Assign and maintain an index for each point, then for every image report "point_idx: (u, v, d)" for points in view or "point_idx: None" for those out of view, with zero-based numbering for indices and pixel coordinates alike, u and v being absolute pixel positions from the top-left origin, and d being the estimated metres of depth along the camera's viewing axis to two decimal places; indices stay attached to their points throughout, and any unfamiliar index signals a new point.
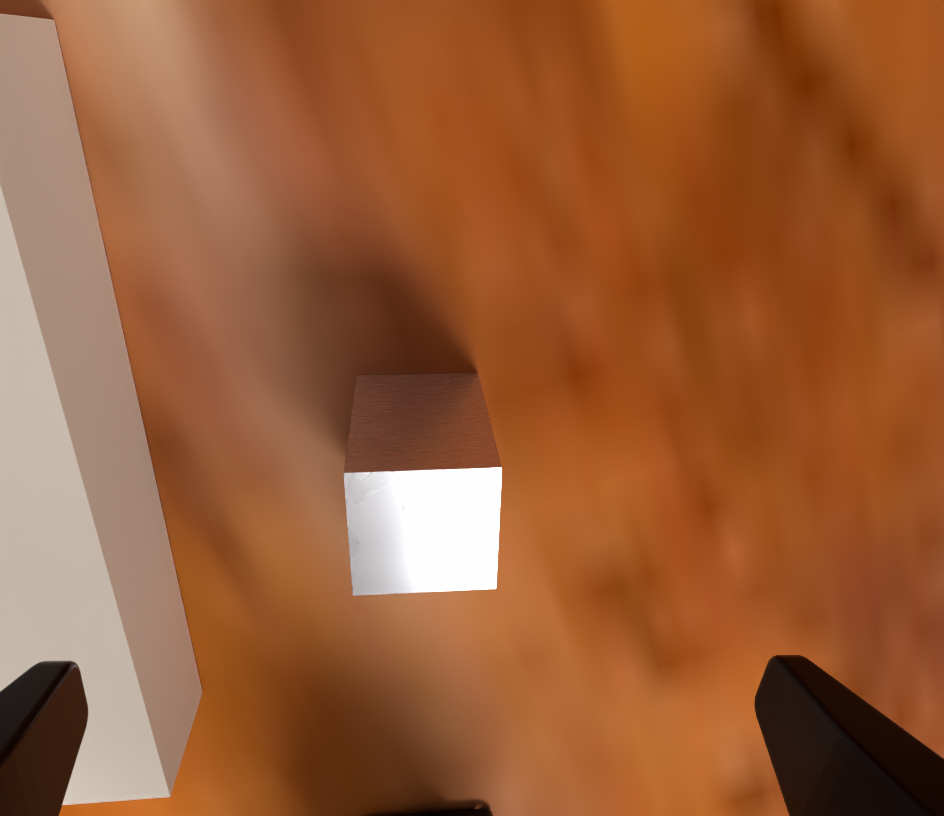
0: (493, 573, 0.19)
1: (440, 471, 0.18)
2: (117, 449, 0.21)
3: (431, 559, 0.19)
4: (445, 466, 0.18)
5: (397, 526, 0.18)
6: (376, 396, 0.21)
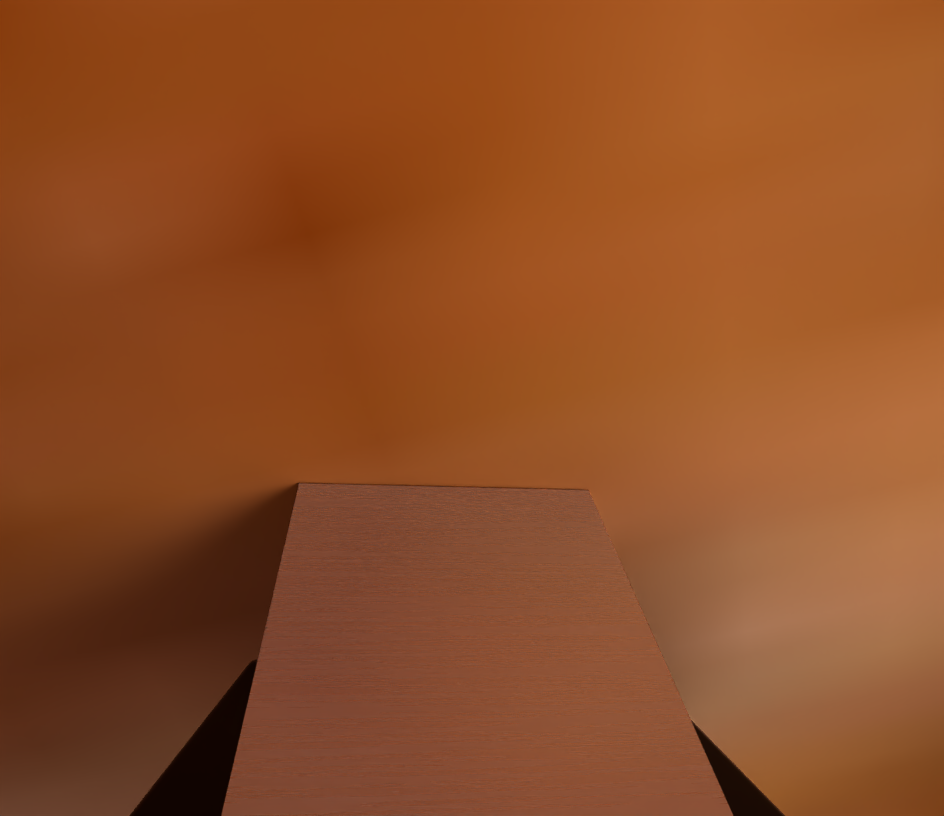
0: None
1: None
2: None
3: None
4: None
5: None
6: None
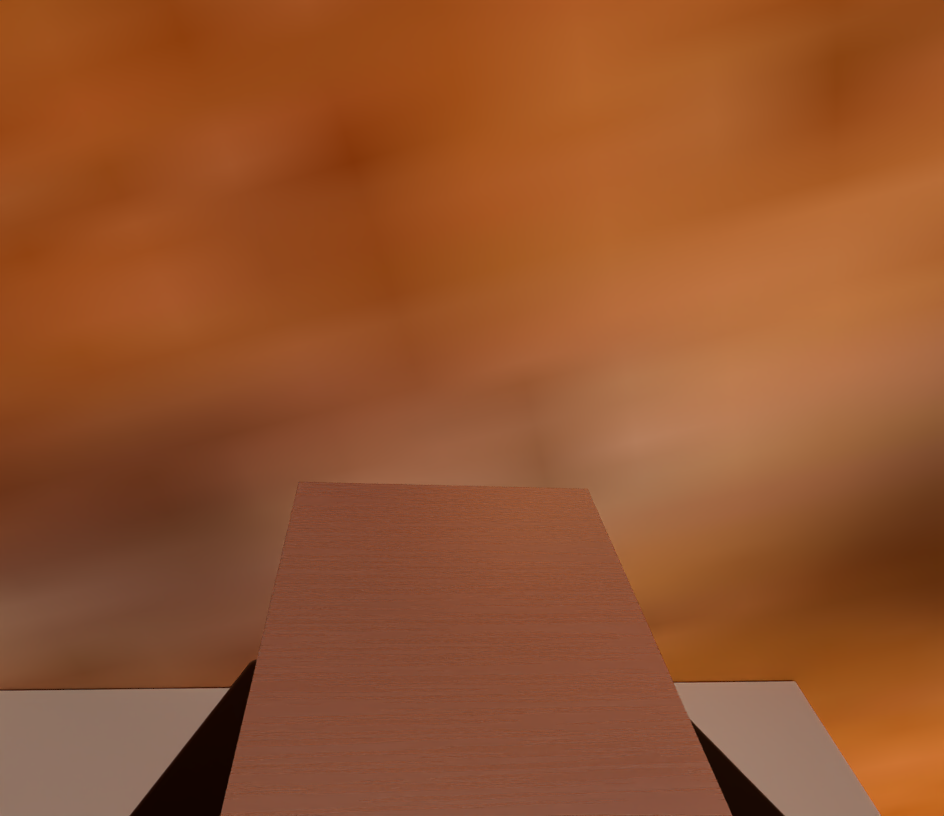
0: None
1: None
2: None
3: None
4: None
5: None
6: None
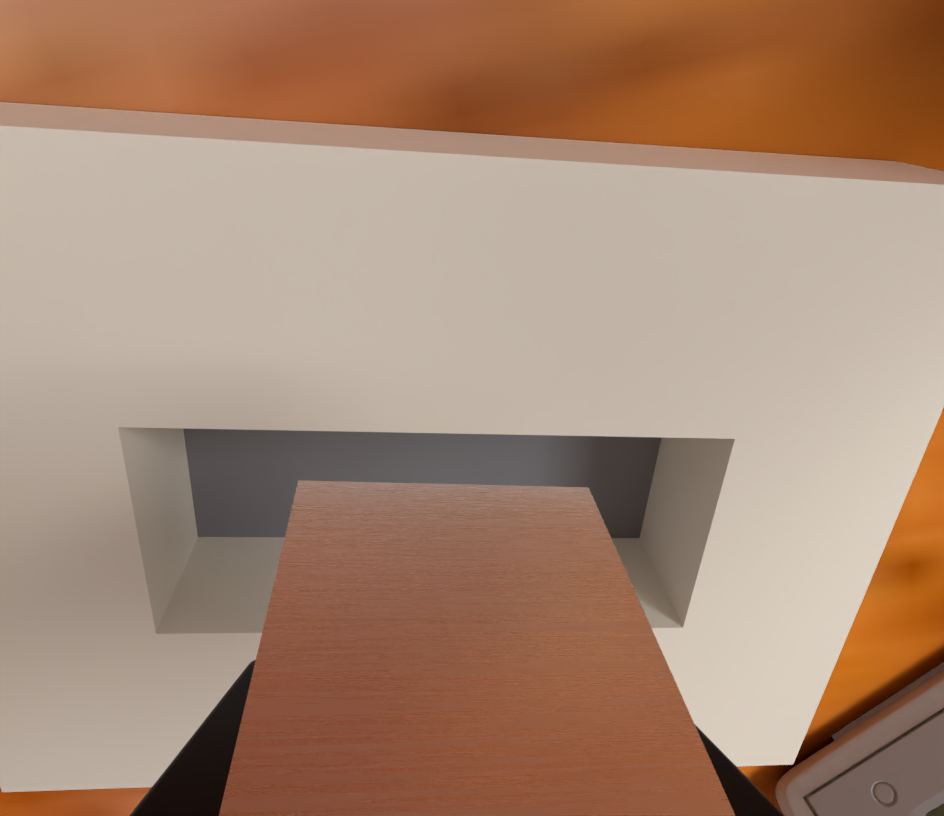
0: None
1: None
2: (416, 138, 0.15)
3: None
4: None
5: None
6: None
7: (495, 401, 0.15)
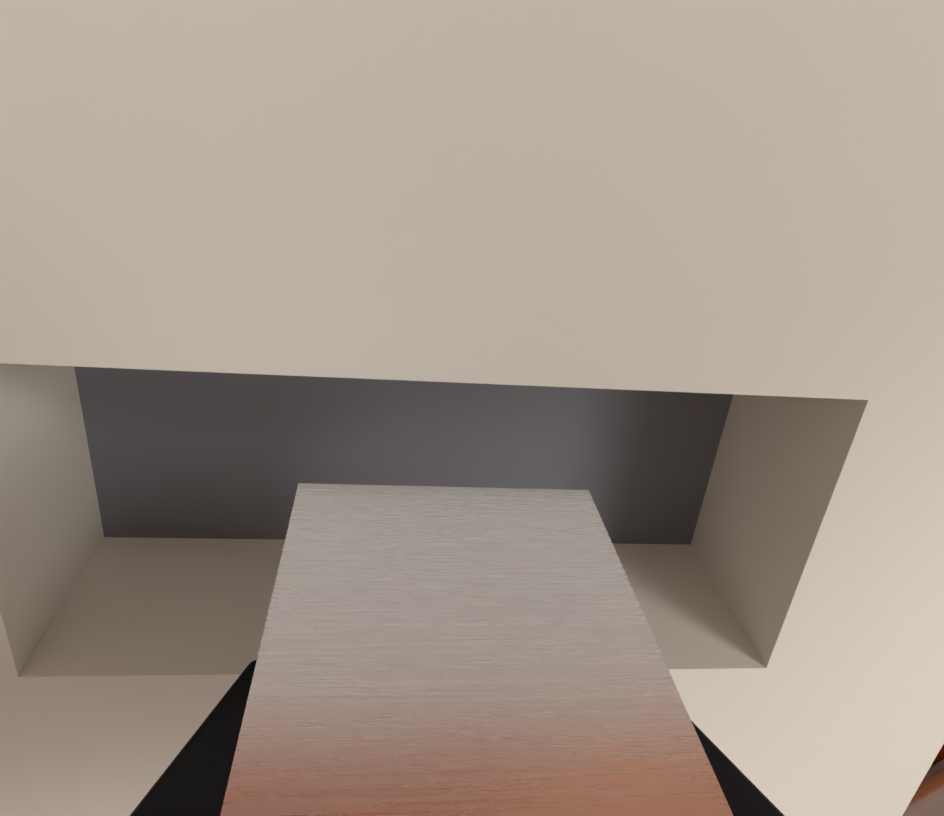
0: None
1: None
2: None
3: None
4: None
5: None
6: None
7: (524, 333, 0.10)
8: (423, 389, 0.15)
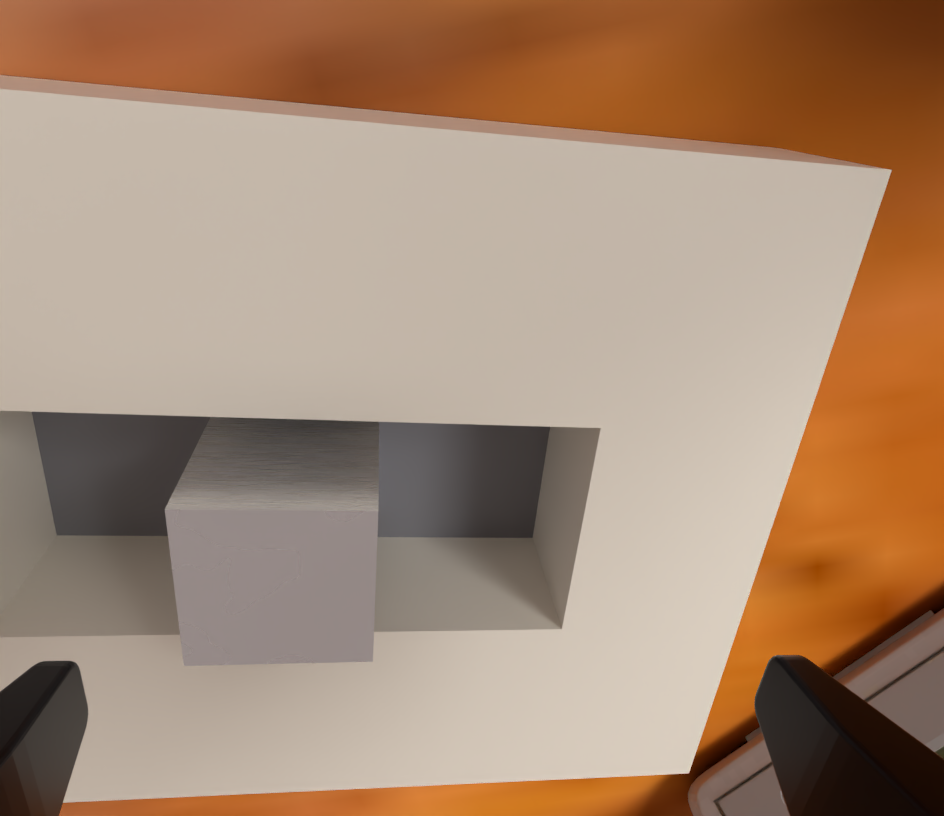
0: (350, 514, 0.14)
1: (176, 575, 0.14)
2: (254, 104, 0.14)
3: (319, 584, 0.14)
4: (173, 565, 0.14)
5: (263, 617, 0.14)
6: None
7: (340, 384, 0.14)
8: None
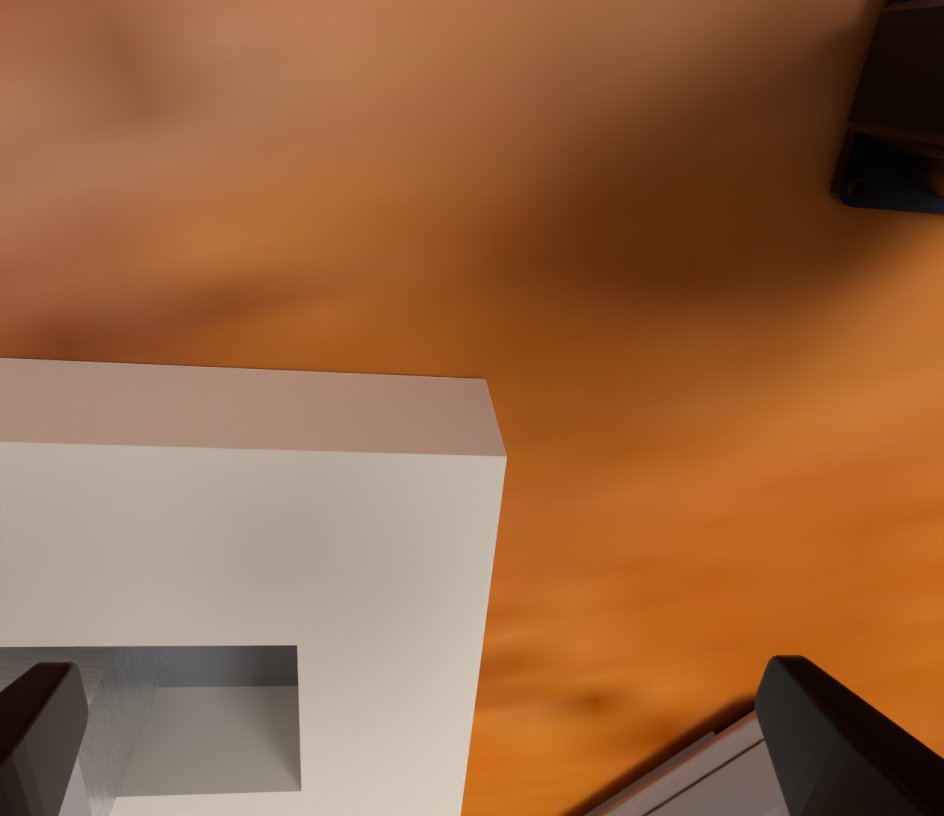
0: None
1: None
2: None
3: None
4: None
5: None
6: None
7: (58, 621, 0.17)
8: None
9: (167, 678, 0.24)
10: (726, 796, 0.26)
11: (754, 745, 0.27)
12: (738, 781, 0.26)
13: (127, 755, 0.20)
